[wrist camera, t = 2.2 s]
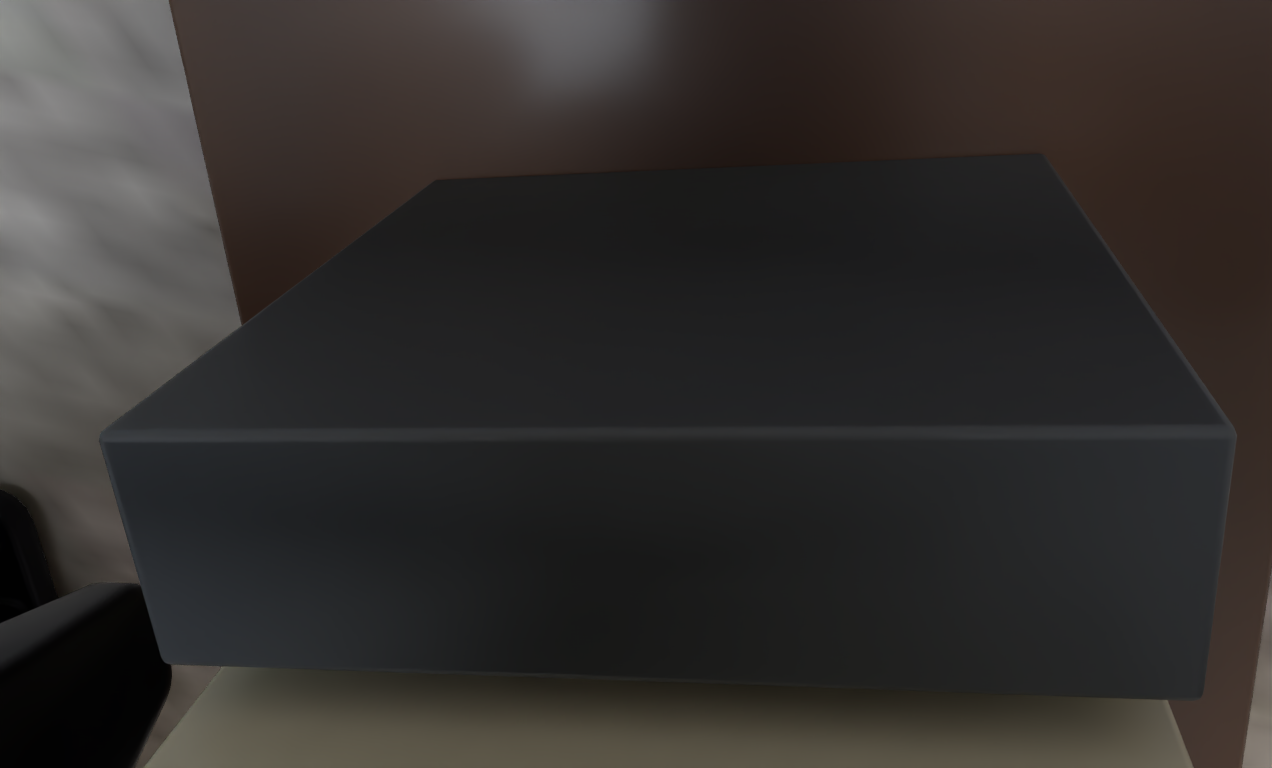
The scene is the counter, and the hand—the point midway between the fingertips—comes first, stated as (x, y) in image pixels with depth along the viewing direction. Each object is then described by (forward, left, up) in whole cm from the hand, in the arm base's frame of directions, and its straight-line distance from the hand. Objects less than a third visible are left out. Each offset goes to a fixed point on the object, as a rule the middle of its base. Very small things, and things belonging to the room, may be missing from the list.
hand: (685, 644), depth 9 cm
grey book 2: (0, +2, -4) cm, 4 cm away
